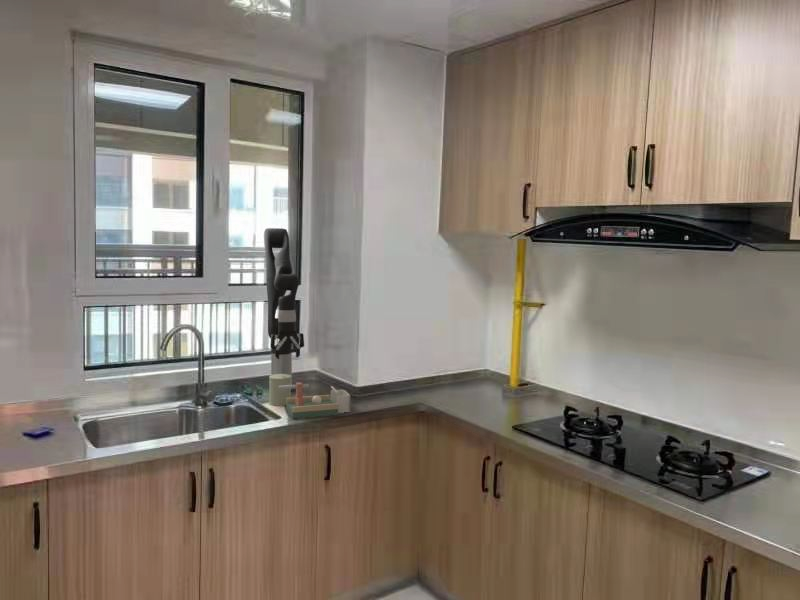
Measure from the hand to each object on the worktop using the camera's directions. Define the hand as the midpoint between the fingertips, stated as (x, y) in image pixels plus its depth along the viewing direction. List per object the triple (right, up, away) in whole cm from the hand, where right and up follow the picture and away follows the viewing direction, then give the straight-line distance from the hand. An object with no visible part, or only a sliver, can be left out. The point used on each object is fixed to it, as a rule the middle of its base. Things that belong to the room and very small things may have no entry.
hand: (287, 357), depth 264 cm
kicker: (+6, -17, -20) cm, 28 cm away
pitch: (+13, -20, -18) cm, 30 cm away
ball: (+15, -16, -18) cm, 28 cm away
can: (-2, -19, -5) cm, 20 cm away
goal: (+24, -20, -14) cm, 34 cm away
